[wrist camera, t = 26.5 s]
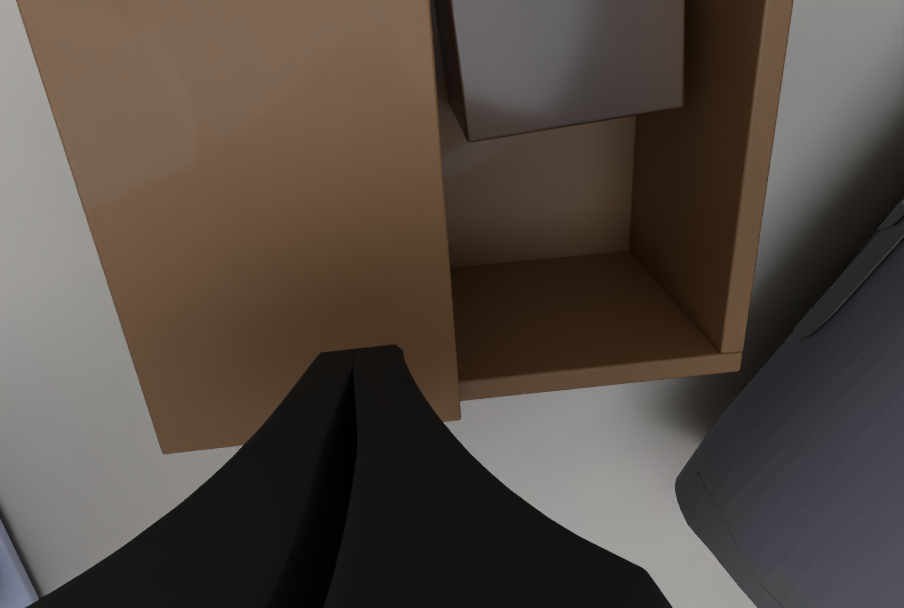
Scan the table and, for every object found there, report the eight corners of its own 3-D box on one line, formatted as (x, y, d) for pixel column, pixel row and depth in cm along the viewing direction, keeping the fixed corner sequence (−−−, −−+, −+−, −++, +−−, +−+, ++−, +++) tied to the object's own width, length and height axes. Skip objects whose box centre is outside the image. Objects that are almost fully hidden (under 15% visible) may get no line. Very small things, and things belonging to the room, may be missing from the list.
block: (448, 106, 17) (467, 143, 13) (421, -91, 15) (433, -115, 11) (617, 78, 17) (685, 108, 13) (611, -121, 15) (689, -155, 11)
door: (168, 442, 13) (161, 455, 13) (-82, -349, 8) (-104, -364, 8) (459, 409, 14) (461, 420, 13) (400, -371, 8) (401, -386, 8)
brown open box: (235, 297, 20) (170, 433, 14) (116, -210, 14) (-71, -341, 8) (638, 258, 20) (741, 372, 14) (668, -244, 15) (850, -387, 9)
